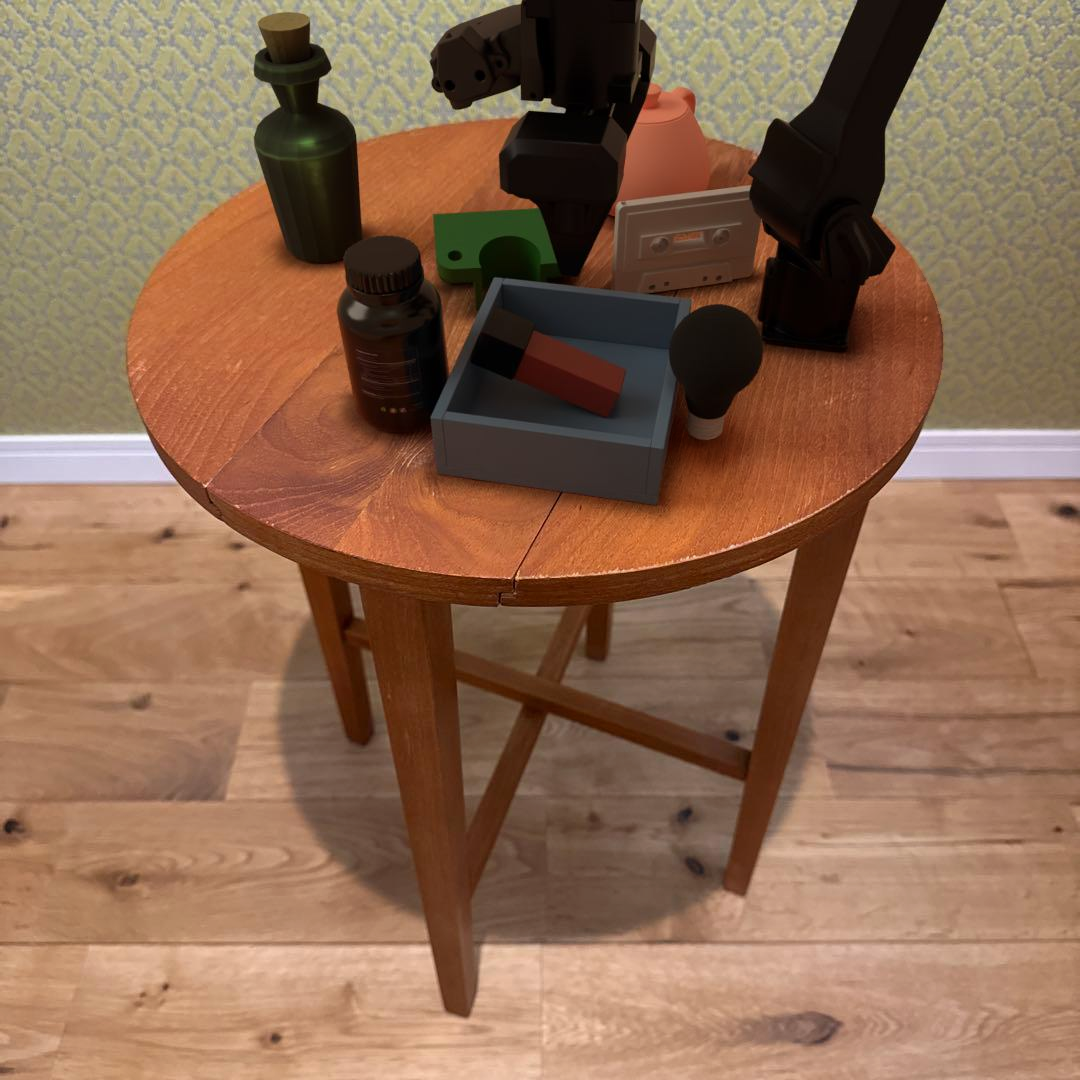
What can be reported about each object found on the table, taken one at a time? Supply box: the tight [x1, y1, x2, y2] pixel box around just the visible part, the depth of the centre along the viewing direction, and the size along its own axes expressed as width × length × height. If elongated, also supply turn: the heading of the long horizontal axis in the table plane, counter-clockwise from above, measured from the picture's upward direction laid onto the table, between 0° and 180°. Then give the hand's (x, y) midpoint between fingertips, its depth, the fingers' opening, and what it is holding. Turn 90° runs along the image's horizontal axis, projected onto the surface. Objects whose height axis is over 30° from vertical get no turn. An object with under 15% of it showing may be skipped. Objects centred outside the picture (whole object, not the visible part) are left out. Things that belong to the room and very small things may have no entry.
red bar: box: [471, 306, 626, 418], centre depth 66 cm, size 10×3×3 cm, turn 78°
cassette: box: [610, 184, 762, 294], centre depth 77 cm, size 12×2×8 cm, turn 104°
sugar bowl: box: [608, 82, 711, 217], centre depth 86 cm, size 12×14×10 cm
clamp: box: [432, 207, 565, 311], centre depth 77 cm, size 12×6×9 cm, turn 90°
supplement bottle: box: [336, 234, 450, 434], centre depth 64 cm, size 7×7×12 cm
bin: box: [430, 277, 693, 506], centre depth 67 cm, size 15×17×5 cm
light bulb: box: [669, 303, 764, 441], centre depth 63 cm, size 6×6×10 cm
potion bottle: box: [253, 11, 363, 264], centre depth 77 cm, size 8×8×18 cm
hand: (582, 237), depth 62 cm, fingers open, 9 cm apart
